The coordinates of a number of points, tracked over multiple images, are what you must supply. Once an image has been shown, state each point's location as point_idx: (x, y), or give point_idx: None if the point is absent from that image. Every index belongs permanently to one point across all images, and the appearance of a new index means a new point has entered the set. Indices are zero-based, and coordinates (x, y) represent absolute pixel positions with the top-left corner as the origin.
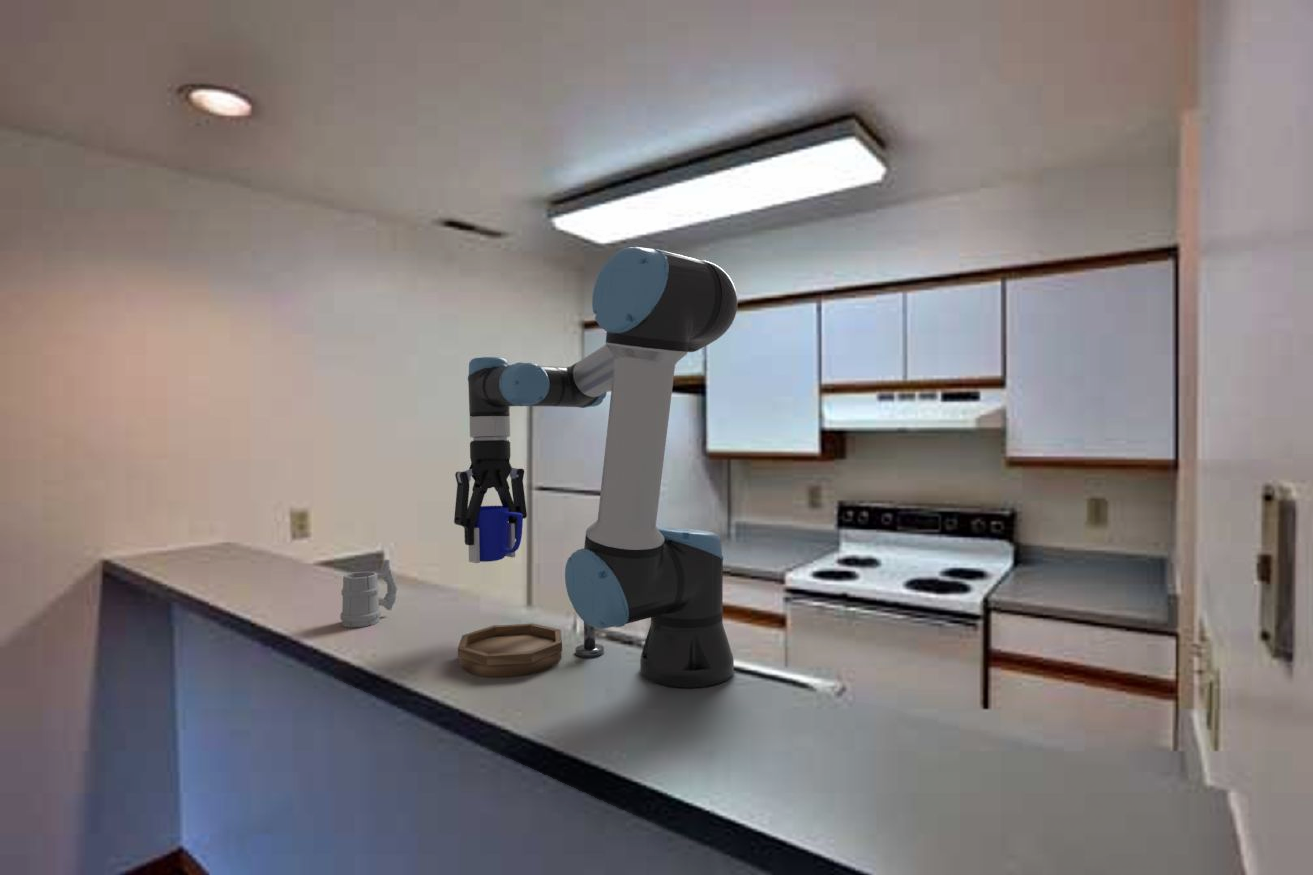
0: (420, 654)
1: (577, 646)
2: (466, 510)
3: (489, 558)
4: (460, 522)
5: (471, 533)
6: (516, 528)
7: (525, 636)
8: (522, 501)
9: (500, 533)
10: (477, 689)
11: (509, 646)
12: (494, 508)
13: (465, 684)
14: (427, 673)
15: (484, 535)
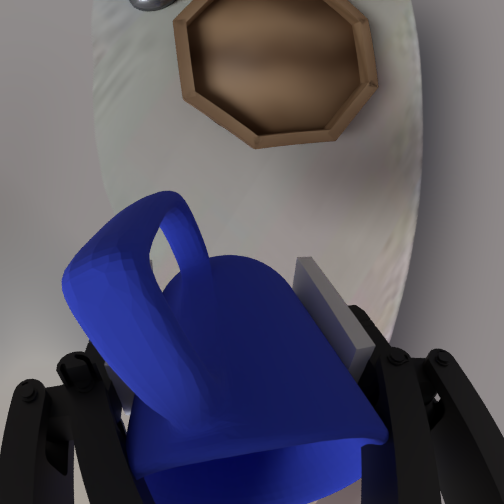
0: (355, 197)
1: (161, 5)
2: (462, 407)
3: (259, 261)
4: (452, 357)
5: (370, 337)
6: (93, 352)
7: (216, 82)
8: (16, 476)
9: (227, 308)
10: (377, 14)
11: (279, 56)
12: (176, 501)
13: (379, 38)
14: (391, 114)
15: (310, 323)
